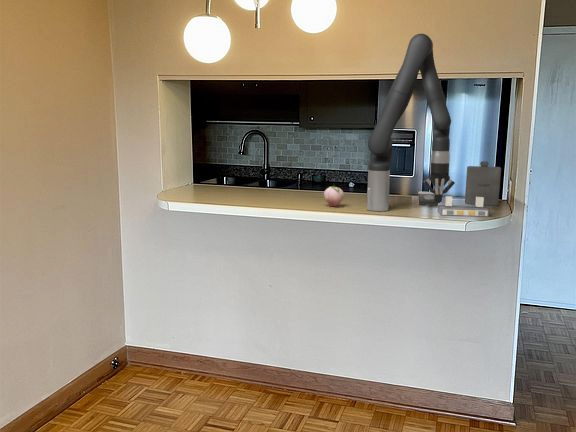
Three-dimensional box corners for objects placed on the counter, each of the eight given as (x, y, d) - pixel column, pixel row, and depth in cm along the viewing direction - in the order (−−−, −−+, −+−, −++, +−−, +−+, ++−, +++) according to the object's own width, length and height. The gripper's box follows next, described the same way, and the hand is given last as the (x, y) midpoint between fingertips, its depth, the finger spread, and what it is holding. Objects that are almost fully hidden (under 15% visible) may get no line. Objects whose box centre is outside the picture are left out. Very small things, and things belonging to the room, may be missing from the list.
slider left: (445, 206, 236) (446, 196, 235) (444, 204, 240) (445, 194, 239) (452, 206, 236) (452, 196, 235) (450, 205, 239) (451, 195, 239)
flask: (465, 204, 263) (468, 161, 260) (464, 202, 269) (467, 160, 265) (499, 206, 260) (502, 162, 257) (497, 204, 266) (500, 161, 262)
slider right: (477, 207, 235) (477, 196, 234) (475, 205, 238) (475, 195, 237) (483, 207, 235) (483, 197, 234) (481, 205, 238) (482, 195, 237)
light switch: (438, 201, 260) (438, 190, 247) (437, 213, 259) (437, 202, 245) (419, 200, 263) (418, 189, 249) (418, 212, 261) (417, 201, 247)
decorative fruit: (347, 207, 251) (348, 185, 249) (332, 208, 247) (332, 186, 245) (335, 204, 259) (336, 182, 258) (320, 205, 255) (321, 183, 254)
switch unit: (441, 215, 234) (441, 208, 233) (437, 211, 243) (437, 204, 243) (488, 217, 232) (489, 209, 231) (483, 212, 241) (483, 205, 241)
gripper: (424, 162, 232) (423, 204, 235) (458, 162, 230) (455, 204, 233) (422, 161, 239) (420, 201, 242) (454, 161, 238) (452, 202, 241)
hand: (438, 203), depth 238 cm, fingers closed
